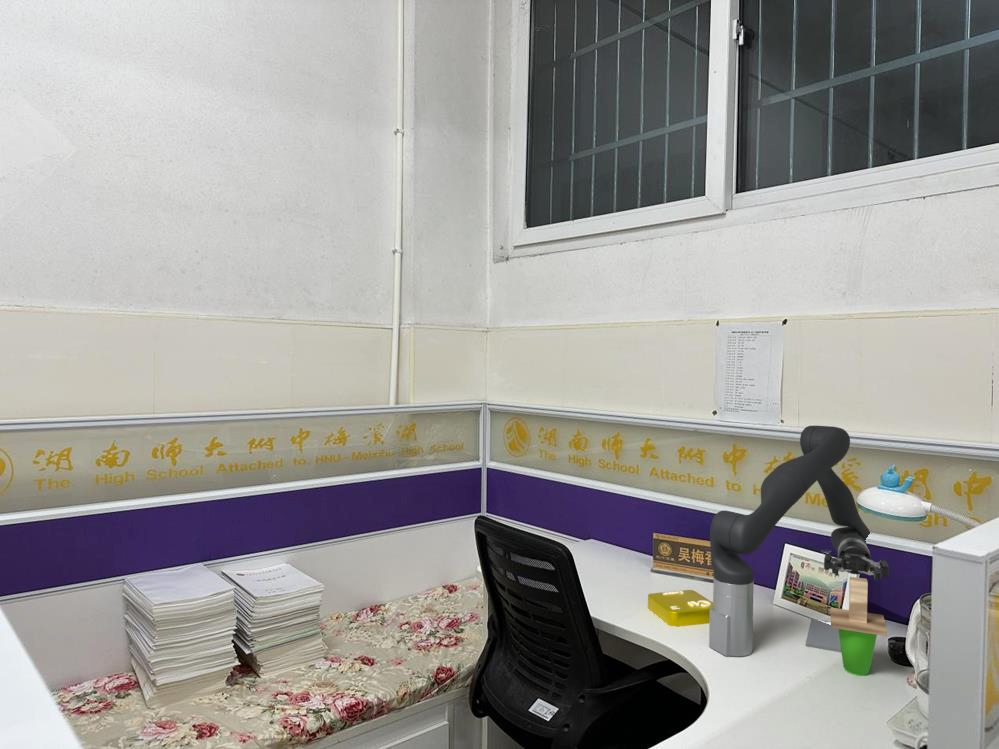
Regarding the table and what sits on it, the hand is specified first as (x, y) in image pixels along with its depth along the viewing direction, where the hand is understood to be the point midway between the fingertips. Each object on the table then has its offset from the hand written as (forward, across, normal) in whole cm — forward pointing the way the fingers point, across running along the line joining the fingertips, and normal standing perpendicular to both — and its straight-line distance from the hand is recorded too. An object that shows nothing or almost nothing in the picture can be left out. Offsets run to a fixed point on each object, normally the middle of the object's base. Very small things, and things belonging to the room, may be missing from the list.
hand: (856, 574), depth 169 cm
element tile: (-6, -42, +19) cm, 47 cm away
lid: (+11, 0, +8) cm, 14 cm away
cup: (+12, 0, +19) cm, 22 cm away
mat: (-7, -4, +19) cm, 20 cm away
